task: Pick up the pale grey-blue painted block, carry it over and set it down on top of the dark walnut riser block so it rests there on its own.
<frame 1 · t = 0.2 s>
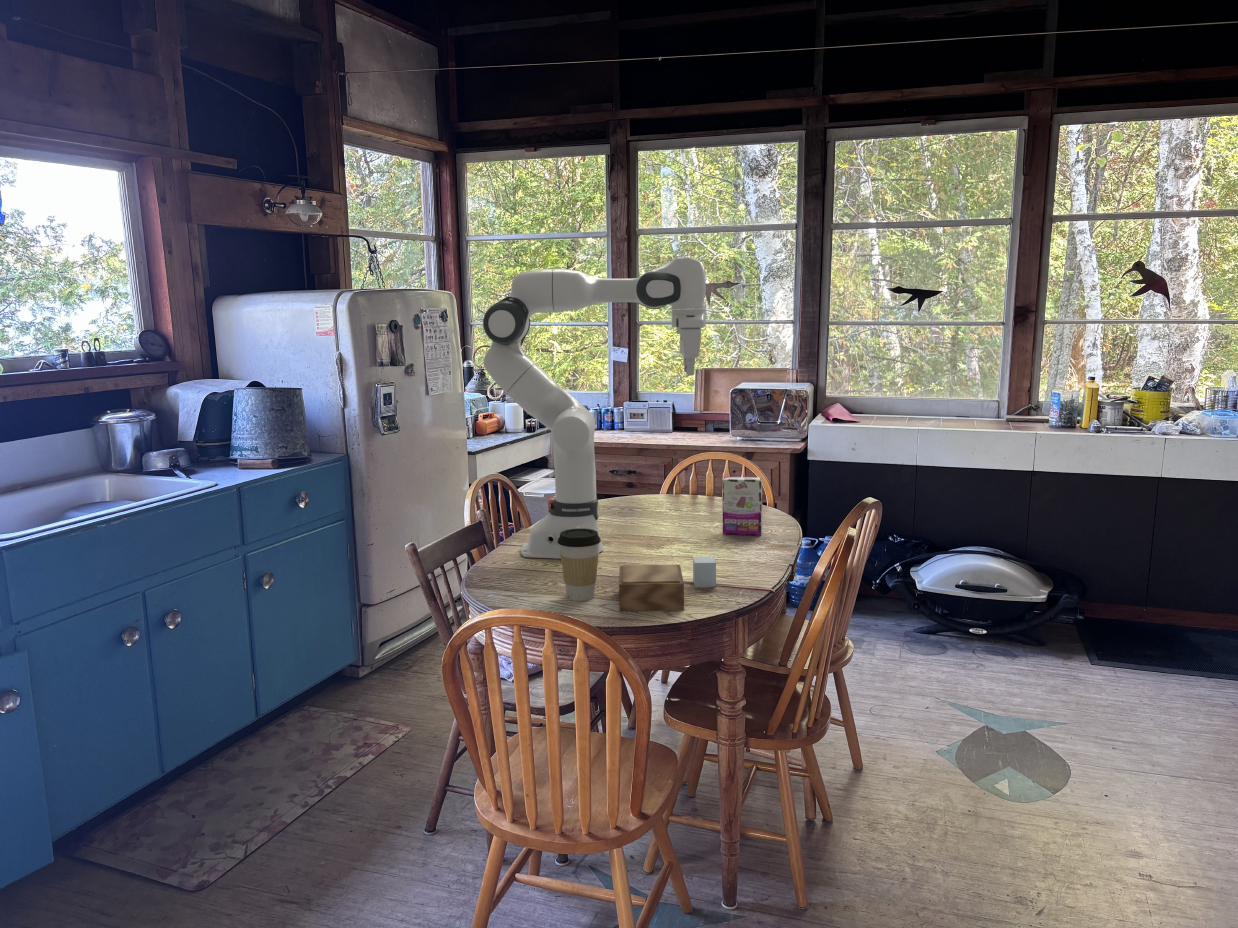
hand: (689, 373, 226), 48 cm above the table, tool pointing down, fingers open, 8 cm apart
walnut riser: (650, 599, 194), on the table
painted block: (704, 583, 204), on the table
candy bar box: (742, 534, 249), on the table
coffee cup: (580, 597, 197), on the table
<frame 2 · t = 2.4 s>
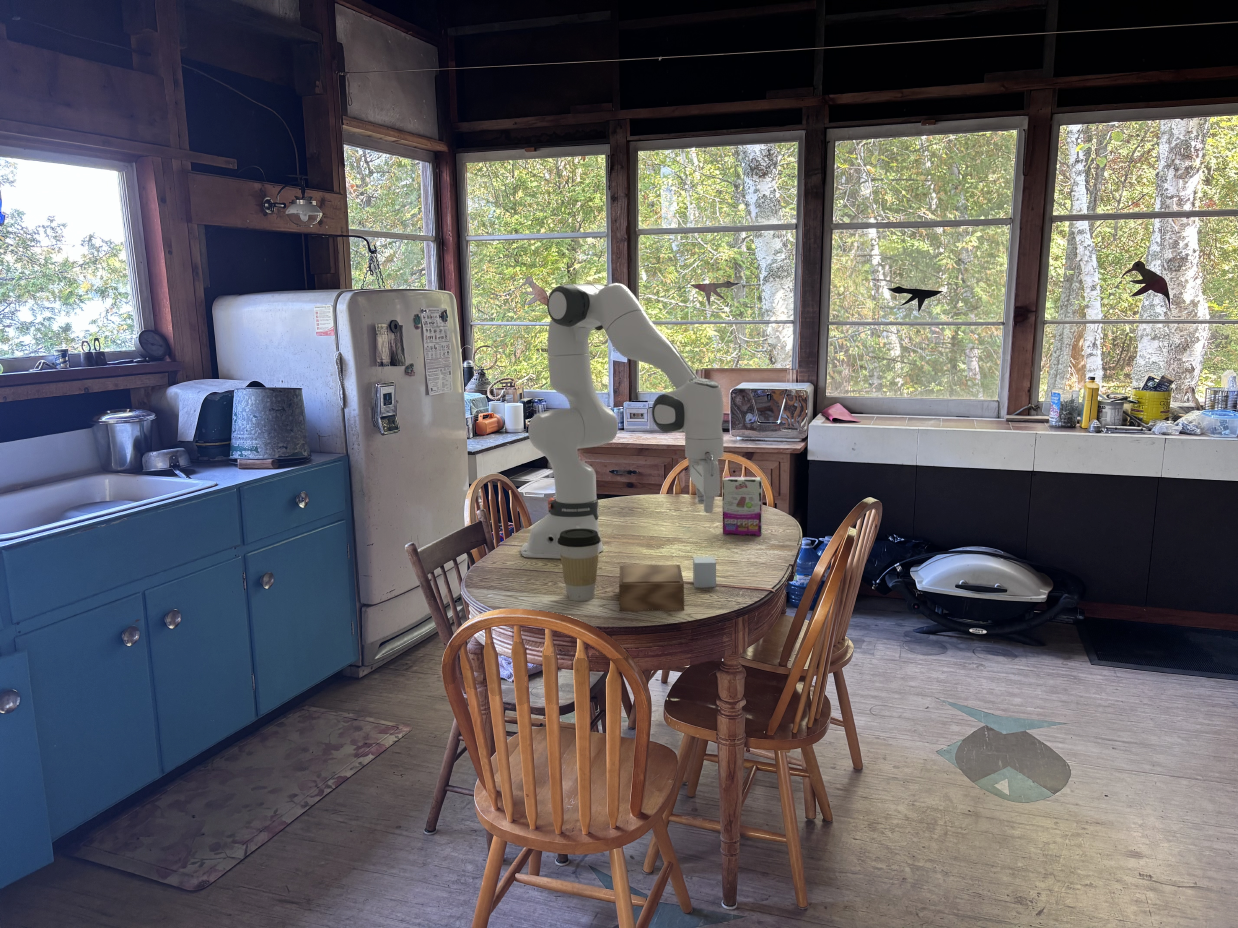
hand: (704, 507, 201), 19 cm above the table, tool pointing down, fingers open, 8 cm apart
nothing on the table moved.
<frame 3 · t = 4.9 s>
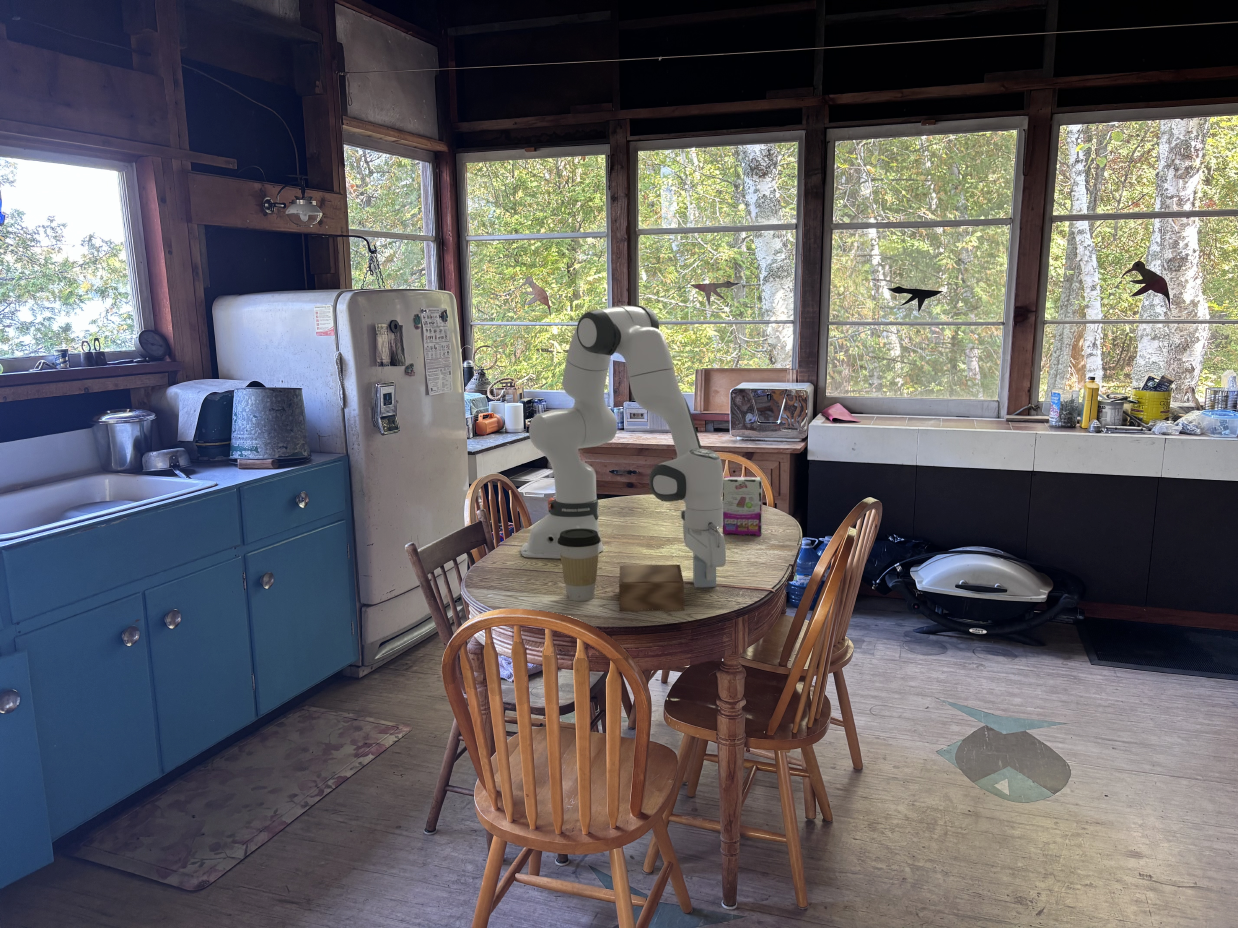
hand: (704, 575, 204), 2 cm above the table, tool pointing down, fingers closed on painted block, 6 cm apart
painted block: (704, 583, 204), on the table, touching gripper
everything else where it was.
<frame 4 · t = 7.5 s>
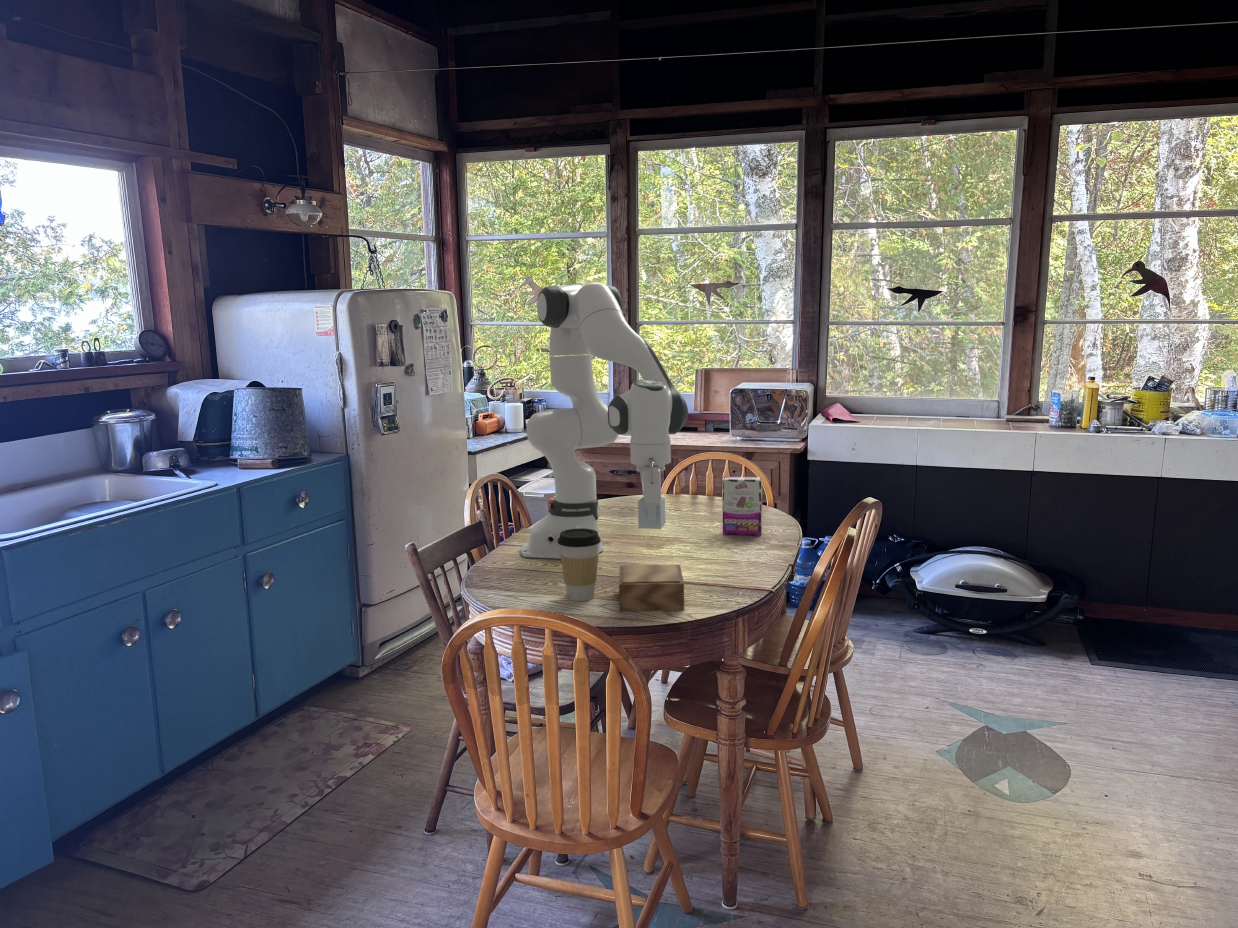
hand: (651, 516, 190), 19 cm above the table, tool pointing down, fingers closed on painted block, 6 cm apart
painted block: (652, 525, 191), point 17 cm above the table, touching gripper
everything else where it was.
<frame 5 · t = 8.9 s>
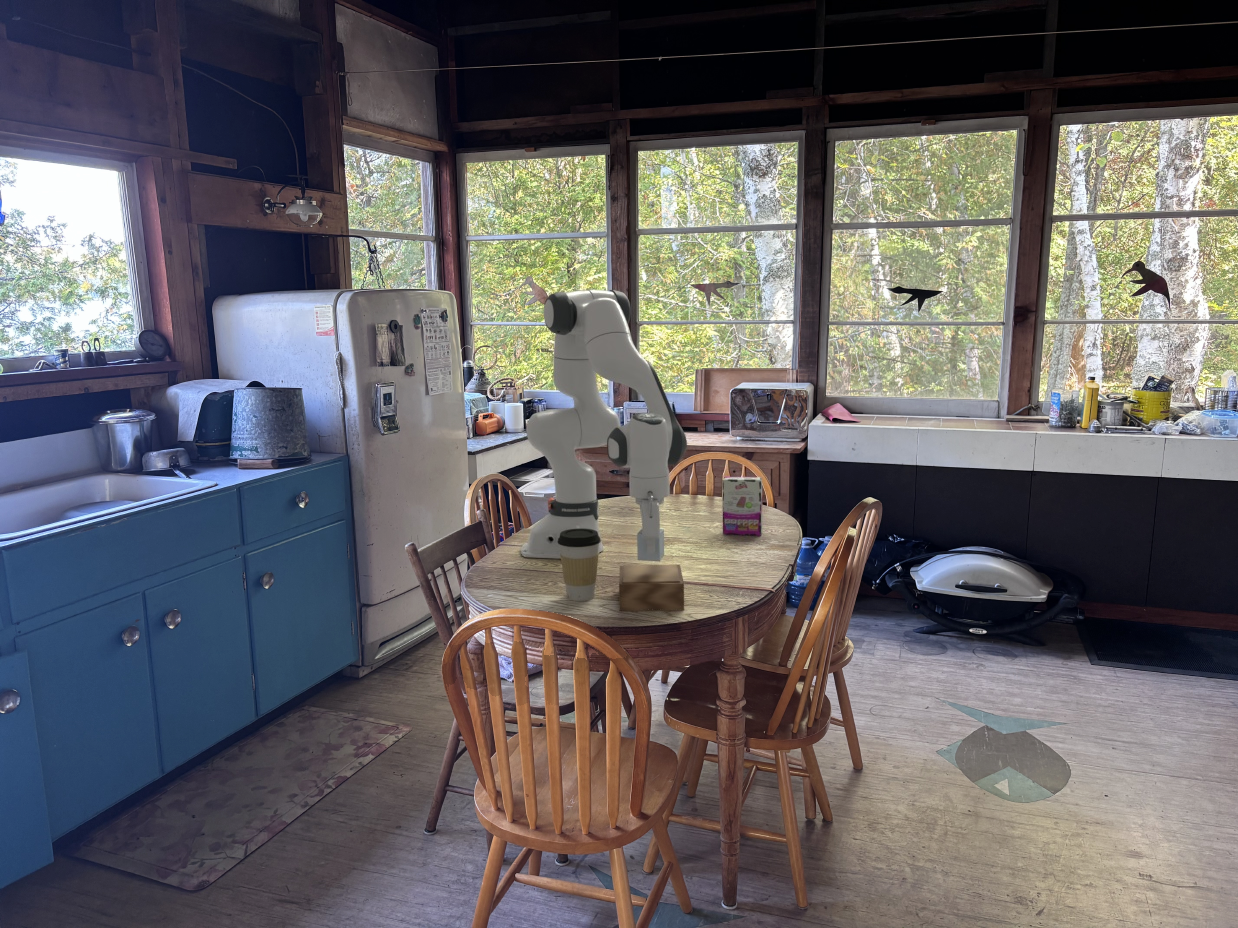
hand: (650, 548, 191), 12 cm above the table, tool pointing down, fingers closed on painted block, 6 cm apart
painted block: (651, 557, 192), point 10 cm above the table, touching gripper
everything else where it was.
when the fingers open (9 cm above the table, at t = 10.3 s): painted block stays where it is, resting on walnut riser.
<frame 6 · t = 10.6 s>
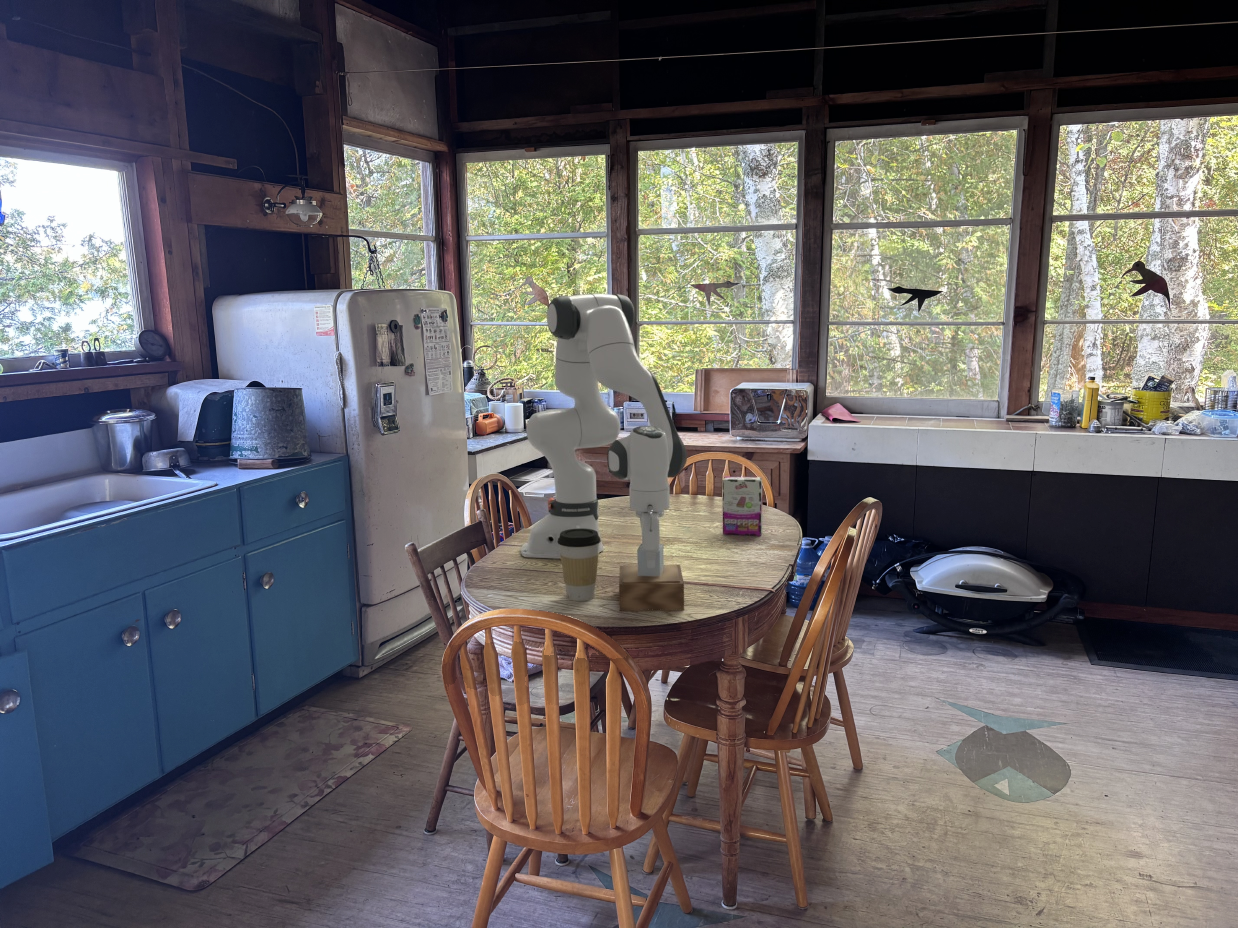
hand: (650, 560, 192), 9 cm above the table, tool pointing down, fingers open, 8 cm apart
painted block: (650, 572, 193), point 6 cm above the table, touching walnut riser
everything else where it was.
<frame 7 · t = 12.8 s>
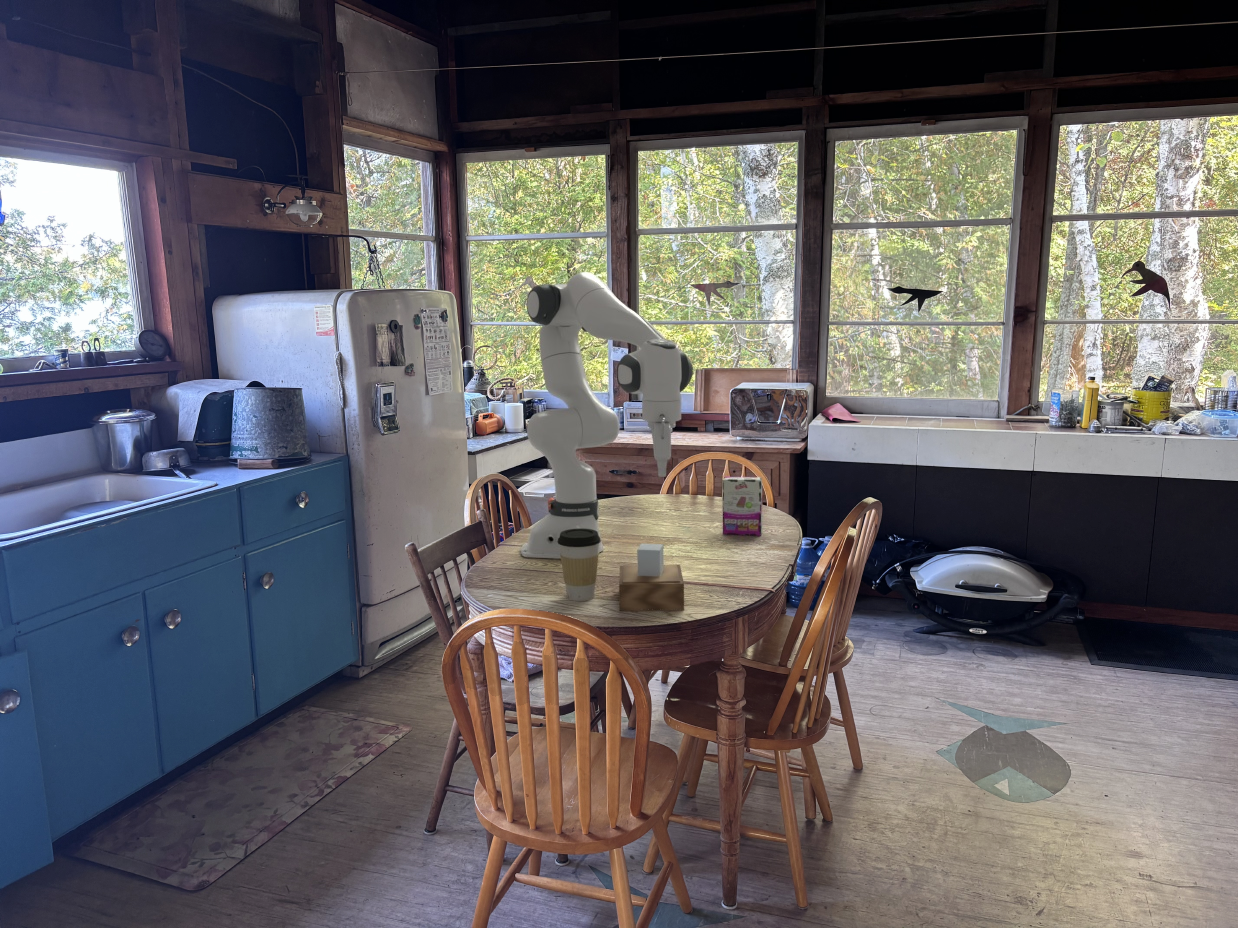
hand: (661, 471, 197), 28 cm above the table, tool pointing down, fingers open, 8 cm apart
nothing on the table moved.
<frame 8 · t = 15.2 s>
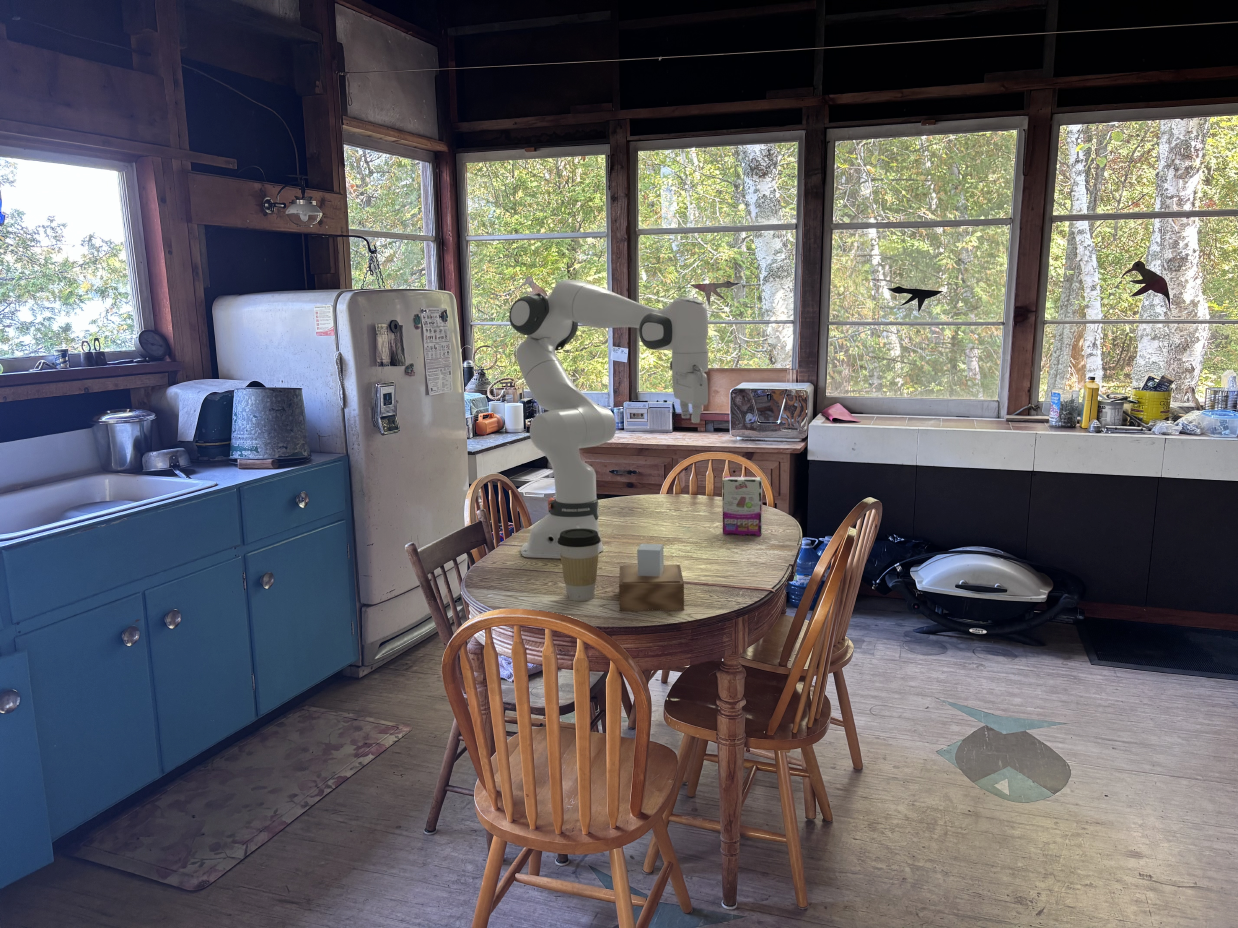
hand: (690, 420, 213), 37 cm above the table, tool pointing down, fingers open, 8 cm apart
nothing on the table moved.
at the end: painted block inside the target area on the walnut riser (0.1 cm from its centre), point 6.3 cm above the walnut riser's base; painted block tilted 0°; the gripper is holding nothing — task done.
